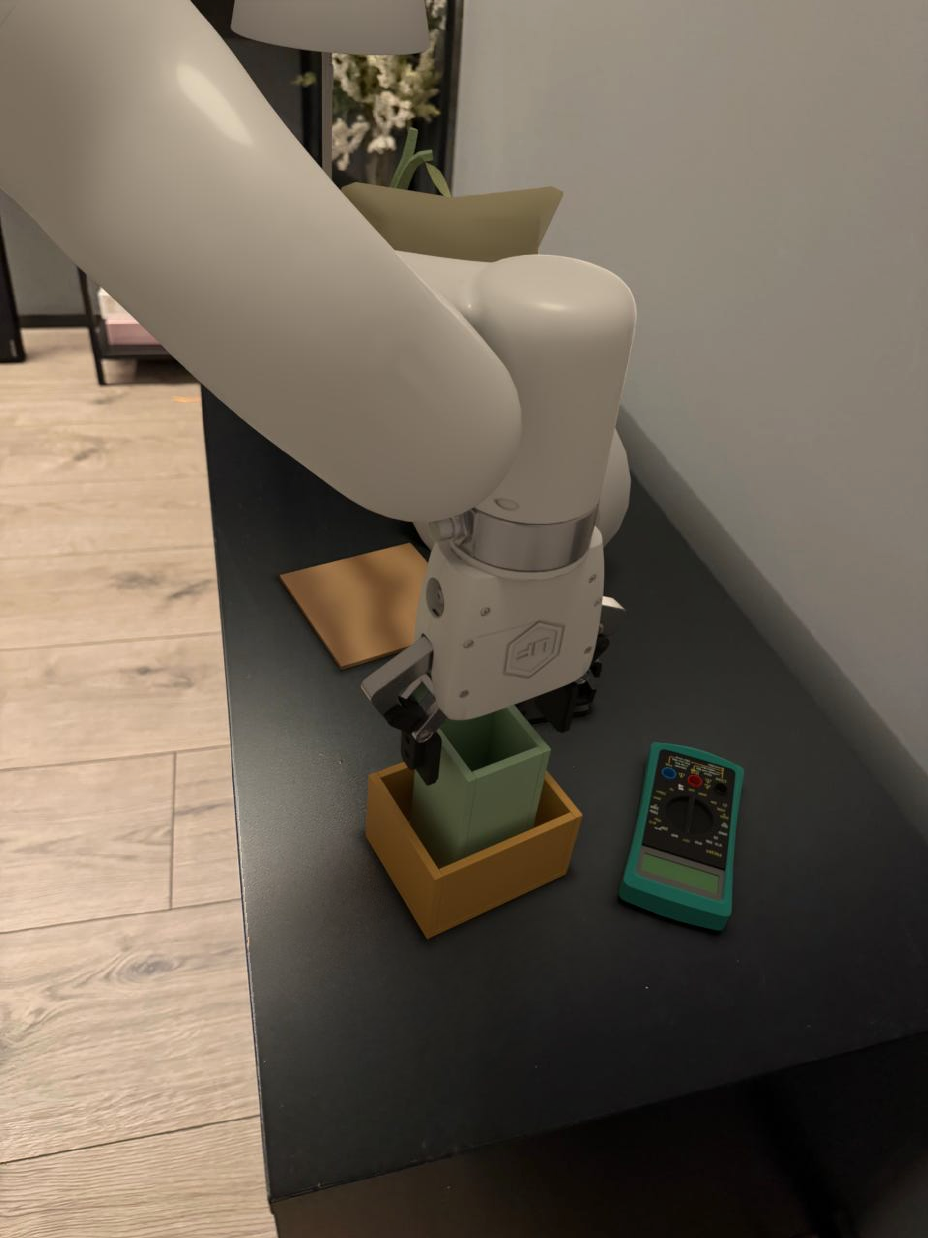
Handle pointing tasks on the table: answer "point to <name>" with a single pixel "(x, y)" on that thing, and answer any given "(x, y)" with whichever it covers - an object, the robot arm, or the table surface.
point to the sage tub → (480, 785)
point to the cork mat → (362, 602)
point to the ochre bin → (477, 877)
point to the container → (458, 220)
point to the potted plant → (411, 164)
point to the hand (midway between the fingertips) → (488, 742)
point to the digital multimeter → (685, 836)
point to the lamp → (335, 35)
